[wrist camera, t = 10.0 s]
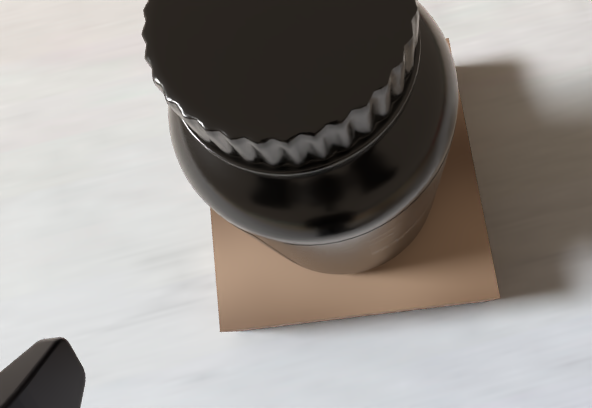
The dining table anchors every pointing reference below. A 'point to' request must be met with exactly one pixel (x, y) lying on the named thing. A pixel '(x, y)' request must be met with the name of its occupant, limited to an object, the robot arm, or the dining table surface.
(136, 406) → the dining table surface
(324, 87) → the supplement bottle
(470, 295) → the tan flat square block
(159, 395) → the dining table surface
